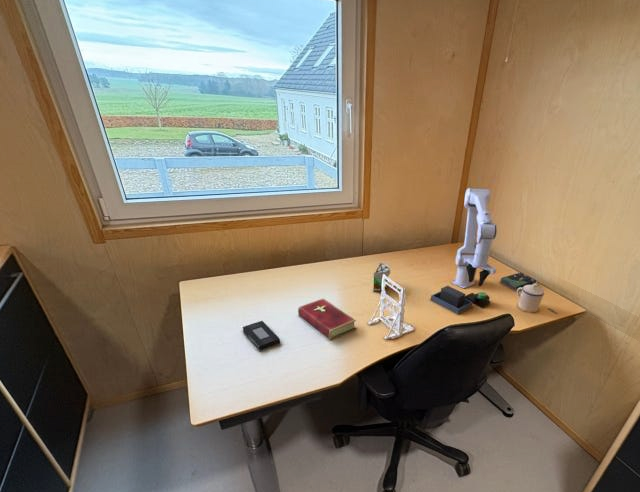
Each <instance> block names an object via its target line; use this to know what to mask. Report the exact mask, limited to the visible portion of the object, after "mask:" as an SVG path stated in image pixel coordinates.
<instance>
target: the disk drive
mask: <svg viewBox="0 0 640 492" xmlns="http://www.w3.org/2000/svg"><path fill="white" fill-rule="evenodd" d="M499 282H500V283H501V284H502V285H504V286H506V287H508V288H510V289H512V290H514V291H517V289H518V288H520V287H522V288H523V287H524V286H525V285H533V284H534V283H535V284H537V279H534V278H533V277H531V276H529V275H525V274H524V273H522V272H516V273H513V274H510V275H507V276H503V277H501V278H500V281H499Z"/></svg>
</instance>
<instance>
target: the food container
mask: <svg viewBox="0 0 640 492" xmlns="http://www.w3.org/2000/svg"><path fill="white" fill-rule="evenodd" d="M383 274H385V276H387V277H388V278H389V276H390V274H391V269H390V266H389V265H388V264H386V263H383V262H379V265H378V267H377V268H376V270H375V272H373V293H382V278H383ZM385 281H386V282H387V283H388V280H386V279H385ZM387 286H388V285H387V284H386V286H385V291H386V290H387Z"/></svg>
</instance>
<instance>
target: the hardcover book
mask: <svg viewBox="0 0 640 492" xmlns="http://www.w3.org/2000/svg"><path fill="white" fill-rule="evenodd" d="M297 315H298V316H299V317H300V318H301V319H303V320H304V321H306V322H307V323H308V324H309V325H311V326H312V327H313V328H315V329H316V330H317V331H318V332H320V333H321V334H323V335H324V336H325V337H326V338H327V339H329V340H330V341H332V340H334V339H336V338H338V337H340V336H342V335H345V334H347V333H349V332H350V333H351V332H352V331H354V330H356V327H355V322H356V321H357V320H356V319H355V318H353V317H352V316H351V315H349V314H347V313H345V312H344V311H343V310H342V309H340V308H338V307H337V306H335V305H334V304H333V303H331V302H330V301H329V300H327V299H325V298H320V299H317V300H315V301H312V302H309V303H305V304H303V305H300V306H299V307H298V308H297Z"/></svg>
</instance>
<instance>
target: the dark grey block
mask: <svg viewBox="0 0 640 492" xmlns="http://www.w3.org/2000/svg"><path fill="white" fill-rule="evenodd" d="M440 291H441V294H440V299H441V300H443V301H445V302H446V303H448V304H450V305H452V306H454V307H456V308H460V307H462V306H463V303H464V298H465V296H466V295H467V294H466V293H465V292H462V291H460V290H458V289H456V288H454V287H452V286H449V285H446V286H444V287H441V288H440Z"/></svg>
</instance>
